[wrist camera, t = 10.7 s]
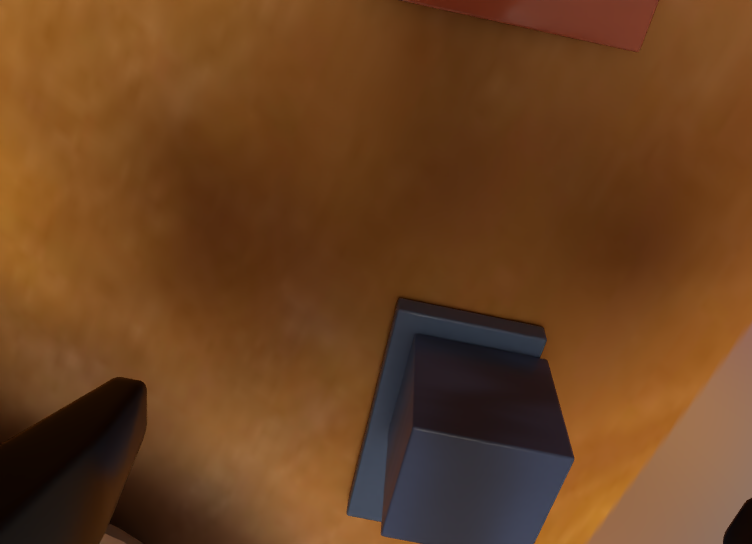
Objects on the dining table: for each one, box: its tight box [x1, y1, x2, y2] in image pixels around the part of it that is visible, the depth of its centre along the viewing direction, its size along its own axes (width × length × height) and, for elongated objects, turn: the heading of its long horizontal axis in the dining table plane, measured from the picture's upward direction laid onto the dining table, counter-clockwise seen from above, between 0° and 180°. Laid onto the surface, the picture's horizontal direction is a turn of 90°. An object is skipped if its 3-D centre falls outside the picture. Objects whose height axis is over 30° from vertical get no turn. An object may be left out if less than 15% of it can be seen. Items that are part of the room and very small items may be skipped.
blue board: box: [347, 298, 547, 522], centre depth 23 cm, size 5×10×1 cm, turn 169°
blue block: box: [381, 334, 574, 544], centre depth 20 cm, size 4×4×4 cm
